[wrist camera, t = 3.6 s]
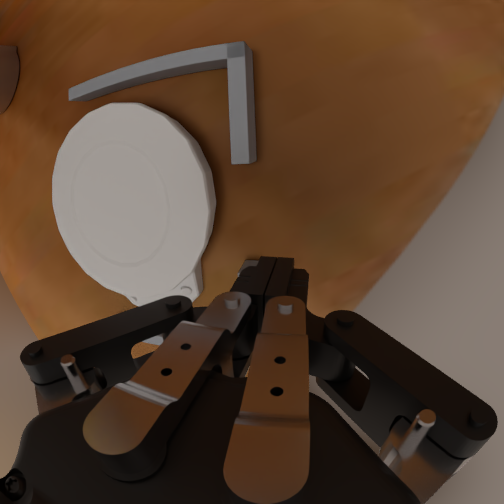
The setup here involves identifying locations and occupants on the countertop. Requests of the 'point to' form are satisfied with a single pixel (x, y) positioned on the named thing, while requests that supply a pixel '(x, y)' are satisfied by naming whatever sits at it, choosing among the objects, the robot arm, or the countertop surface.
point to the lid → (135, 202)
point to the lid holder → (187, 62)
